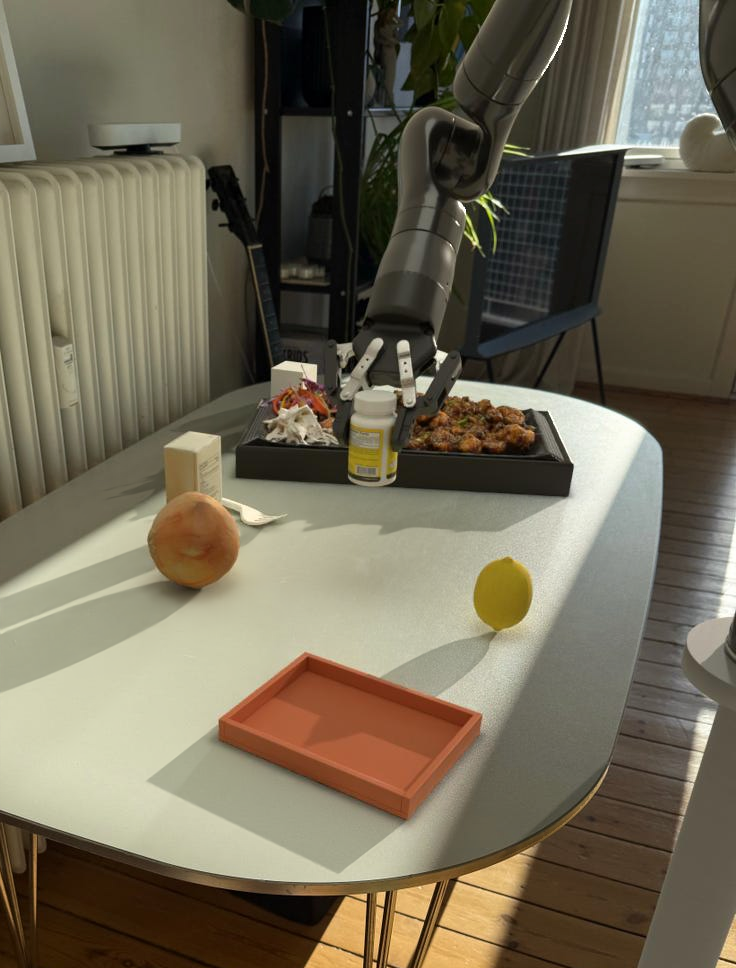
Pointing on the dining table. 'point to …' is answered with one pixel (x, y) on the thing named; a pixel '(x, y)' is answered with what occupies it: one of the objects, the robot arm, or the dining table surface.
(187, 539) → the onion
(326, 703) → the tray
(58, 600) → the dining table surface
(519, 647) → the dining table surface
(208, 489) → the cosmetic box
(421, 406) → the robot arm
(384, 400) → the supplement bottle
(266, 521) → the fork
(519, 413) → the food platter
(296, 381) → the off-white cube
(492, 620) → the lemon
